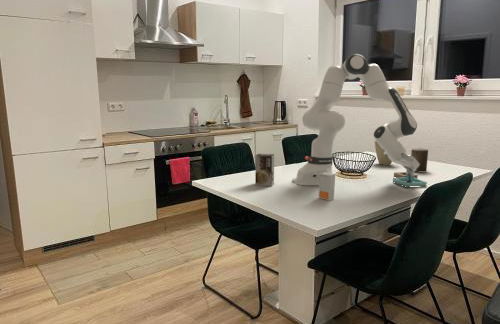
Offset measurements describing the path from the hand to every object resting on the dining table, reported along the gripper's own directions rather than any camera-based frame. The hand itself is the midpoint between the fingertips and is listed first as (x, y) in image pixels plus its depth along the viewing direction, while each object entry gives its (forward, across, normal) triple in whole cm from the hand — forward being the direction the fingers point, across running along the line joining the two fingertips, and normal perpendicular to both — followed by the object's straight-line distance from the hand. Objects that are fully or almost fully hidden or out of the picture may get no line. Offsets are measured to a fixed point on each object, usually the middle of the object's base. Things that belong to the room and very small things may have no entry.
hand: (411, 169), depth 206 cm
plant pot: (+19, +54, -7) cm, 57 cm away
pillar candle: (+25, +30, -14) cm, 42 cm away
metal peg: (+5, 0, +6) cm, 7 cm away
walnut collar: (+10, +12, +2) cm, 15 cm away
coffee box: (-48, +16, +60) cm, 79 cm away
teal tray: (+5, 0, +6) cm, 8 cm away
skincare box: (-33, -16, +45) cm, 58 cm away
